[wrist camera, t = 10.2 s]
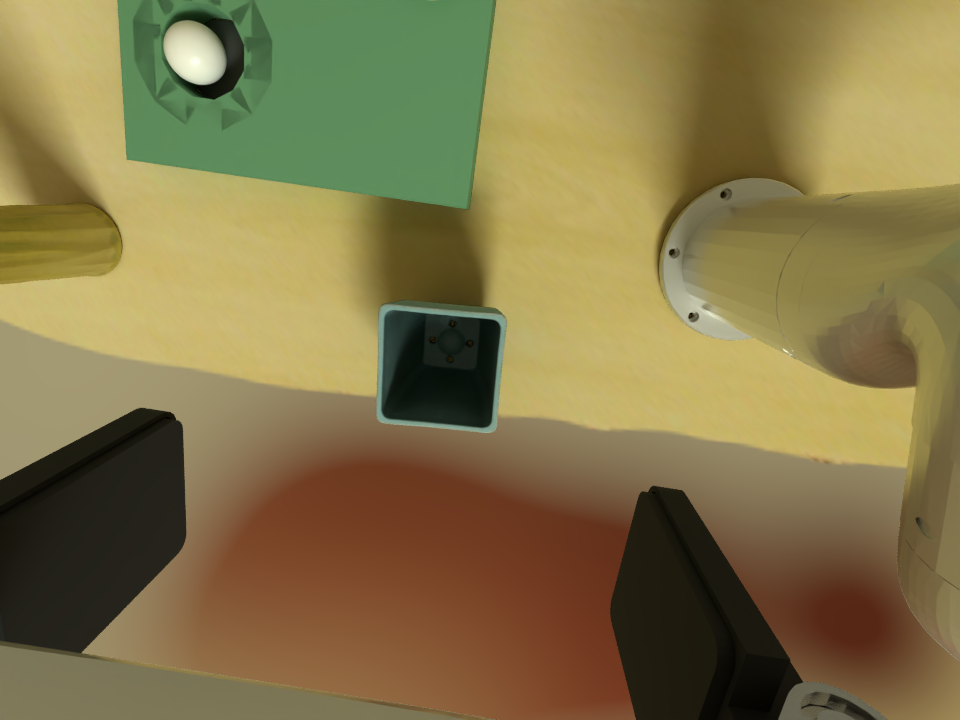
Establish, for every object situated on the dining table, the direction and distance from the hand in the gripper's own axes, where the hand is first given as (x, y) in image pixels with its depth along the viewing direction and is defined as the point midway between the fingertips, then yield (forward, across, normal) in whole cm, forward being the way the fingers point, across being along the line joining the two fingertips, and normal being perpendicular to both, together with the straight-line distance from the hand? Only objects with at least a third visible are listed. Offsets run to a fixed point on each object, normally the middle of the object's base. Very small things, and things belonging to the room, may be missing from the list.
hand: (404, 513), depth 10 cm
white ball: (+31, +23, -14) cm, 41 cm away
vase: (+34, +34, +1) cm, 48 cm away
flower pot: (+34, +2, +5) cm, 34 cm away
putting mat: (+33, +15, -14) cm, 39 cm away
